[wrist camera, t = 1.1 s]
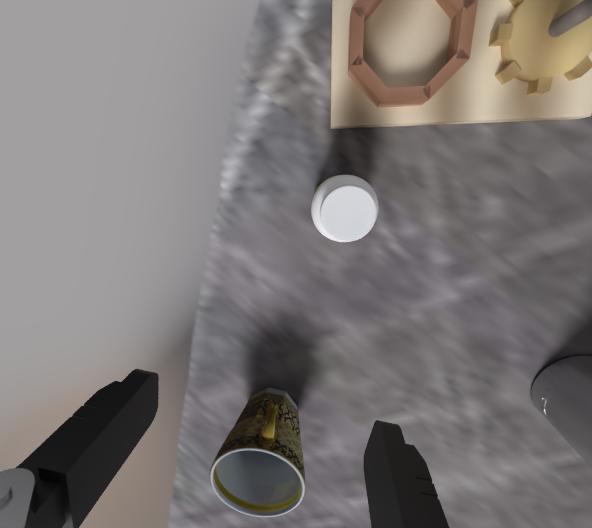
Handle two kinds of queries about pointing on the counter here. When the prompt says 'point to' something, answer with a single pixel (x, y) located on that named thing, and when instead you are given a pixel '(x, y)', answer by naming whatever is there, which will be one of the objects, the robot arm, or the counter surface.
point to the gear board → (422, 54)
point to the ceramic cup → (262, 458)
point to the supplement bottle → (344, 208)
